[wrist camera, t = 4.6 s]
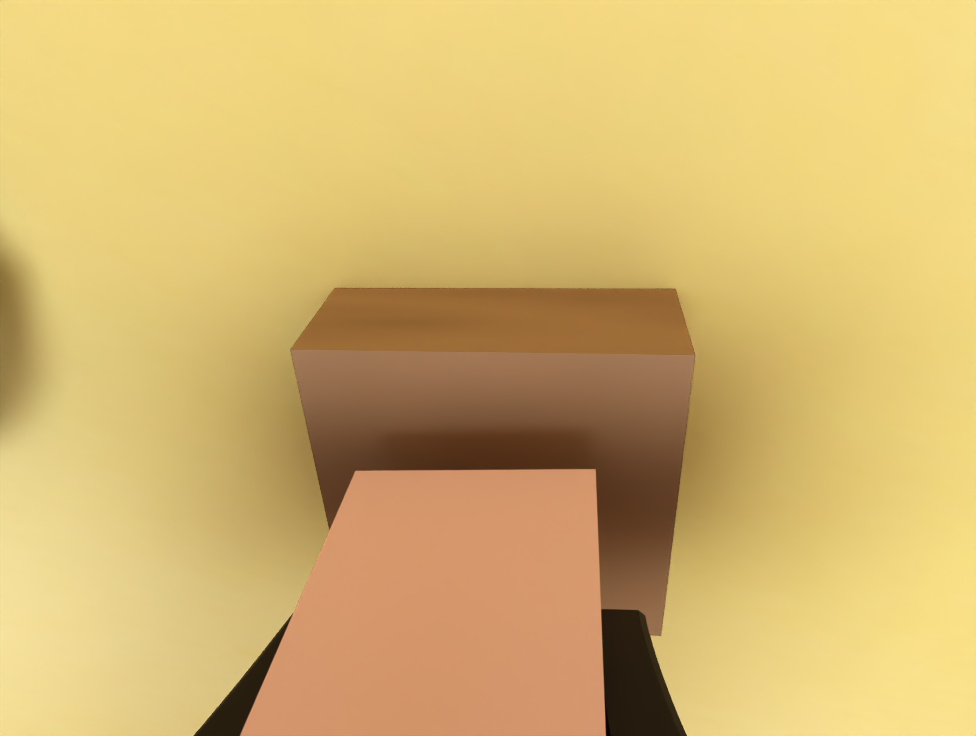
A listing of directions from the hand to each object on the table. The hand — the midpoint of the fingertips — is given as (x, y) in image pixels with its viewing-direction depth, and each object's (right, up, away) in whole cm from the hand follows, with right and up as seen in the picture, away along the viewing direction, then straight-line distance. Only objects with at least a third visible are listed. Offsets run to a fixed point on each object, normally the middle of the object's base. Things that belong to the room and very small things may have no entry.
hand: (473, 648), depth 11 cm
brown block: (+1, +3, +5) cm, 6 cm away
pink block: (0, +1, +2) cm, 2 cm away
